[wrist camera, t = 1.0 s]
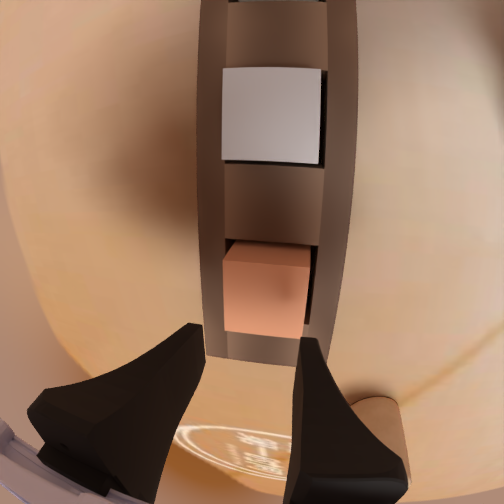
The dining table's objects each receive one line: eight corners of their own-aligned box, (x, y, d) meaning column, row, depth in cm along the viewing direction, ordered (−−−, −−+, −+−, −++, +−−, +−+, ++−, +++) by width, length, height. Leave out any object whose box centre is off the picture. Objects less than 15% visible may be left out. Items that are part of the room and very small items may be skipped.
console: (340, -67, 11) (343, -94, 8) (324, 337, 22) (325, 369, 19) (224, -66, 12) (210, -91, 9) (219, 326, 23) (206, 355, 20)
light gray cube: (318, 82, 14) (321, 69, 11) (316, 157, 16) (317, 164, 13) (240, 80, 15) (222, 68, 12) (238, 154, 16) (221, 159, 13)
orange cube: (310, 242, 18) (310, 267, 14) (303, 305, 19) (301, 339, 16) (238, 236, 18) (222, 260, 15) (238, 299, 20) (224, 330, 17)
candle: (395, 426, 25) (406, 509, 16) (342, 433, 26) (341, 519, 17) (401, 391, 23) (420, 485, 14) (342, 399, 24) (343, 497, 15)
